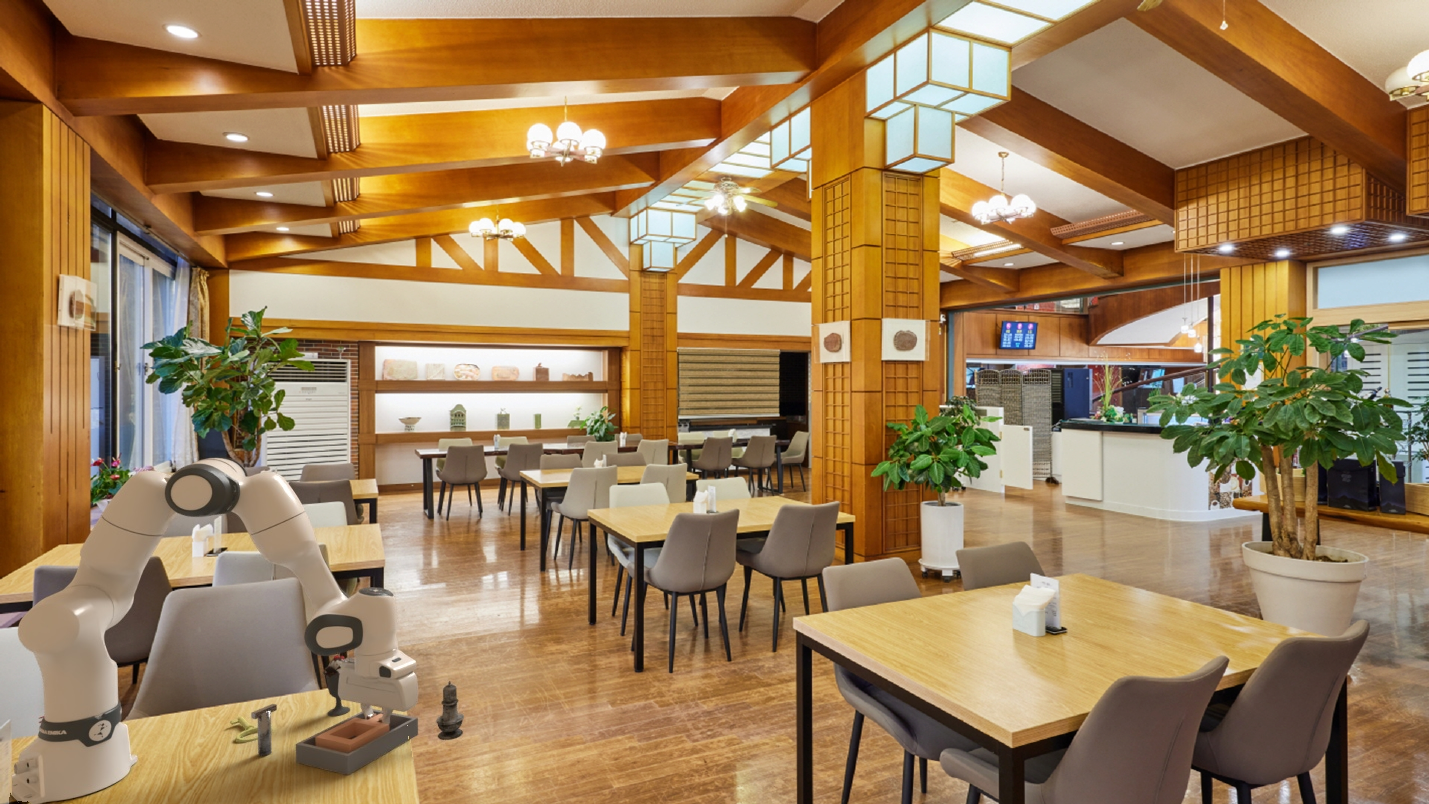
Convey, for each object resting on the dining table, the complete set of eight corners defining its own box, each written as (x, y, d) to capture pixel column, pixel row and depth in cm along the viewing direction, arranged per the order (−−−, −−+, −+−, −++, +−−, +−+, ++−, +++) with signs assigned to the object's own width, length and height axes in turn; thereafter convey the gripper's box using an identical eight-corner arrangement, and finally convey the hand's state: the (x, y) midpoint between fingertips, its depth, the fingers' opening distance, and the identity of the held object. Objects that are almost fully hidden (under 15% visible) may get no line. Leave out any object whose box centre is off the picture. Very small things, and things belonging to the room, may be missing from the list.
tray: (296, 762, 151) (295, 744, 151) (369, 724, 168) (368, 708, 168) (348, 775, 146) (347, 756, 146) (418, 734, 163) (417, 717, 163)
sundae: (350, 703, 180) (349, 642, 180) (357, 712, 175) (356, 650, 175) (320, 711, 176) (319, 649, 176) (326, 720, 171) (325, 656, 171)
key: (240, 724, 171) (240, 715, 171) (278, 733, 166) (277, 723, 166) (209, 737, 164) (209, 728, 164) (247, 747, 159) (247, 737, 159)
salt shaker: (455, 741, 160) (454, 687, 159) (430, 739, 161) (430, 685, 161) (469, 729, 165) (468, 676, 165) (445, 727, 166) (445, 675, 166)
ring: (350, 759, 149) (350, 744, 149) (315, 751, 153) (315, 737, 153) (401, 731, 162) (401, 717, 162) (368, 724, 166) (368, 711, 166)
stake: (250, 757, 153) (249, 712, 153) (271, 747, 158) (270, 703, 158) (257, 759, 152) (257, 714, 152) (279, 749, 157) (278, 704, 157)
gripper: (330, 660, 163) (330, 722, 163) (400, 672, 155) (401, 737, 155) (353, 651, 168) (354, 711, 169) (422, 662, 161) (423, 725, 161)
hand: (377, 724), depth 162 cm, fingers closed on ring, 3 cm apart
